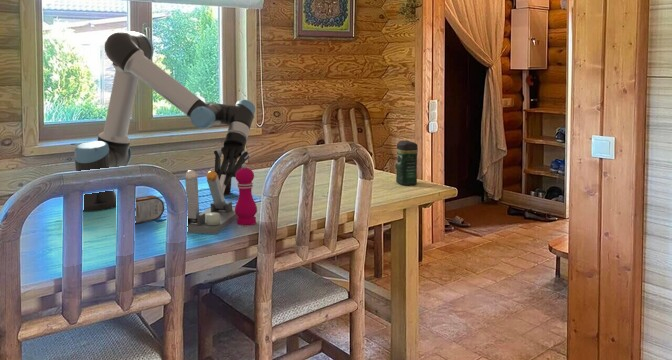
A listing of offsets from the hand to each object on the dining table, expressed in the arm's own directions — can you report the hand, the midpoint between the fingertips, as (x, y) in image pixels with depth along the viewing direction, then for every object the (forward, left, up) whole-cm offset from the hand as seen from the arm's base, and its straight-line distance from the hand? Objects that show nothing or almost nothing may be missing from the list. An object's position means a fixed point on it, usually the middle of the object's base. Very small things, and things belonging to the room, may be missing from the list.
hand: (219, 192), depth 206 cm
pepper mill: (+11, -6, -9) cm, 15 cm away
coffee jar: (+59, +66, -9) cm, 89 cm away
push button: (+4, -16, -6) cm, 17 cm away
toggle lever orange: (0, +1, -6) cm, 6 cm away
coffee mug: (-13, +37, -9) cm, 40 cm away
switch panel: (0, -6, -9) cm, 11 cm away
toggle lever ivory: (-3, -16, -6) cm, 17 cm away
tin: (-24, -10, -9) cm, 27 cm away
